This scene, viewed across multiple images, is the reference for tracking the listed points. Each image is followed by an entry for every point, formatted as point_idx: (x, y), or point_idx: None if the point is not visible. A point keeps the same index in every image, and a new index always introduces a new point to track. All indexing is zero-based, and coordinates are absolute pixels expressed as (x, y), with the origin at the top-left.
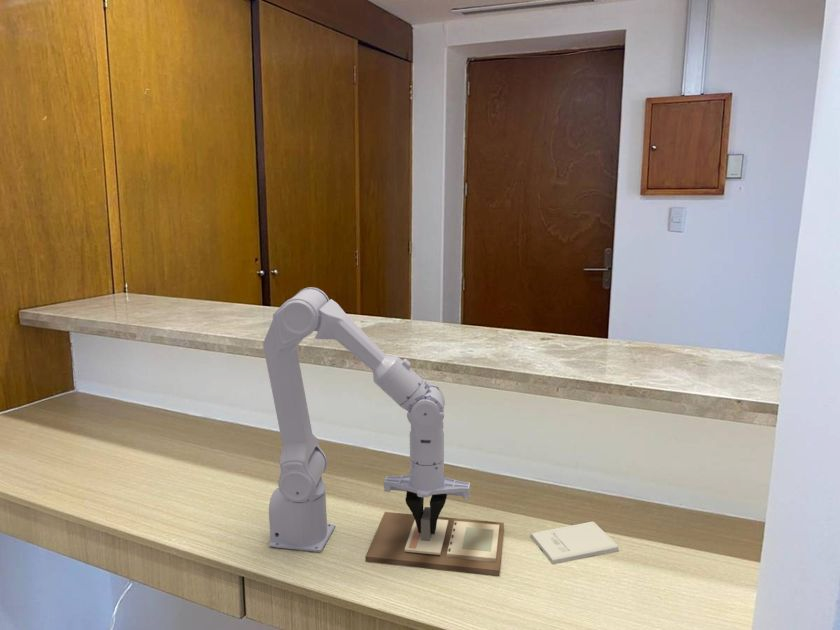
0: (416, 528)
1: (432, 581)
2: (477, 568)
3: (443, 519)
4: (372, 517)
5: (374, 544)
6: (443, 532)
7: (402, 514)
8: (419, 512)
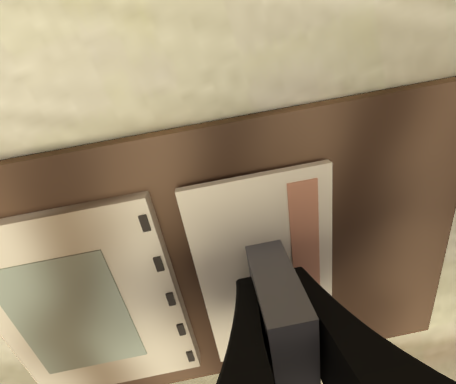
0: None
1: (156, 39)
2: None
3: None
4: (451, 300)
5: (450, 167)
6: (212, 306)
7: None
8: (347, 360)
